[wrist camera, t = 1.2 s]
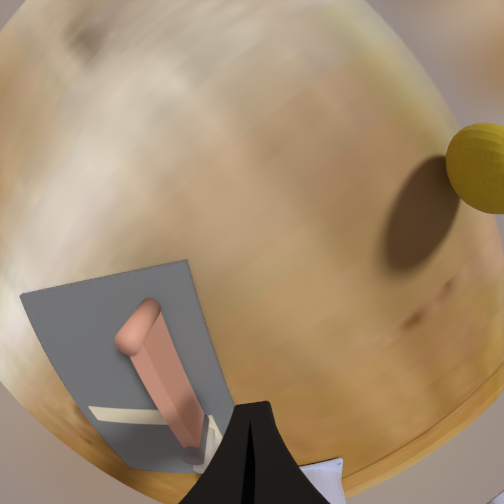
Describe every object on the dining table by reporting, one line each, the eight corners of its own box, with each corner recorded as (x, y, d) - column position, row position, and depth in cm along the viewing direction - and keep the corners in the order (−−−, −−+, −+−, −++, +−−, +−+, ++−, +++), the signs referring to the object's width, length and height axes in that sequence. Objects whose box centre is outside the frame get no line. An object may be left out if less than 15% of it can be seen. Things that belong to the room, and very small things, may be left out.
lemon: (443, 218, 16) (526, 247, 8) (411, 148, 15) (502, 142, 7) (482, 181, 15) (558, 194, 7) (455, 116, 14) (535, 106, 6)
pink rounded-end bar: (211, 423, 19) (206, 465, 15) (193, 424, 19) (186, 465, 15) (158, 296, 16) (133, 333, 12) (136, 299, 16) (107, 335, 12)
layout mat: (260, 467, 23) (261, 503, 18) (131, 465, 23) (121, 494, 18) (187, 259, 16) (163, 292, 11) (22, 293, 17) (-14, 318, 12)
